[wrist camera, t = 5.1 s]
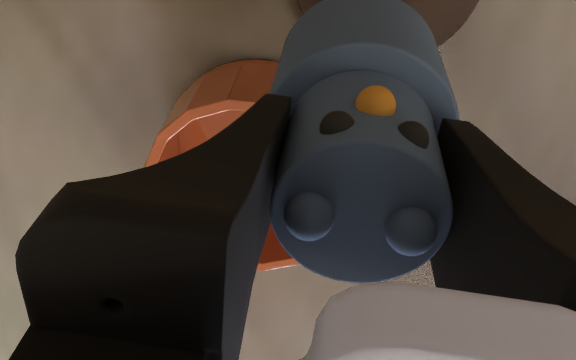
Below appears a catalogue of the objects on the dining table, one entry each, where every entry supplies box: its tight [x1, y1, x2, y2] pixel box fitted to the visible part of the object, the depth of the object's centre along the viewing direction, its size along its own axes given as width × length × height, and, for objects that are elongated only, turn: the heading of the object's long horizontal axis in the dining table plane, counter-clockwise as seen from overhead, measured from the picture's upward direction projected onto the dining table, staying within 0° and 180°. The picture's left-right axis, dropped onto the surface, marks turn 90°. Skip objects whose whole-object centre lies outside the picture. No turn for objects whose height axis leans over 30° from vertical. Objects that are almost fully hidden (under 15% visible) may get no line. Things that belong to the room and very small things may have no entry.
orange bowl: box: [145, 60, 299, 271], centre depth 24 cm, size 8×8×4 cm
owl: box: [270, 0, 459, 283], centre depth 13 cm, size 5×5×8 cm
